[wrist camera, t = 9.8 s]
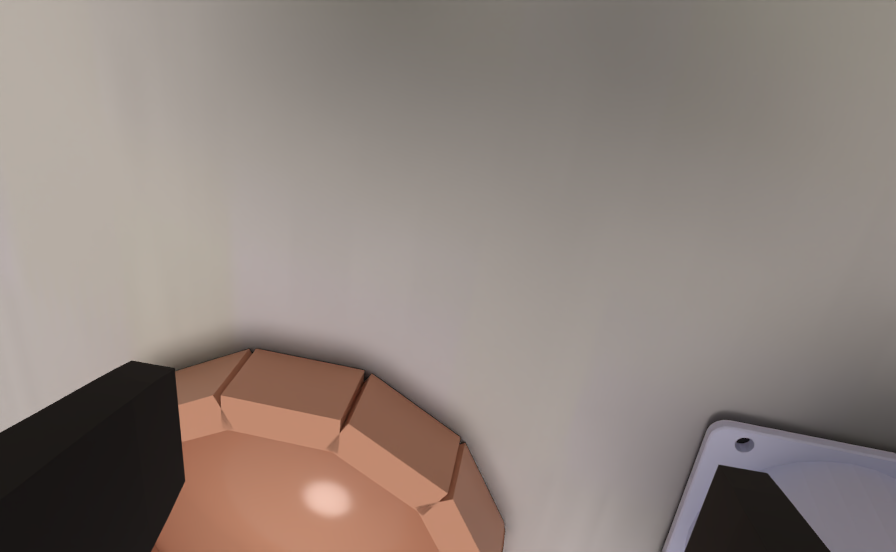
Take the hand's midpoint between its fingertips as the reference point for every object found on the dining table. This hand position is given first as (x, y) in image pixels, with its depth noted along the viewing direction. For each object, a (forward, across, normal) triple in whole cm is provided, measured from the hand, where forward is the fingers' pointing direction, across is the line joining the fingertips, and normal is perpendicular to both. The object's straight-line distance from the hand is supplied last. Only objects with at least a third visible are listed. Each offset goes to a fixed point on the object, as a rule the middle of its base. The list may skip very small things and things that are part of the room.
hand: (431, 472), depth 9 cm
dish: (+10, +5, +13) cm, 18 cm away
